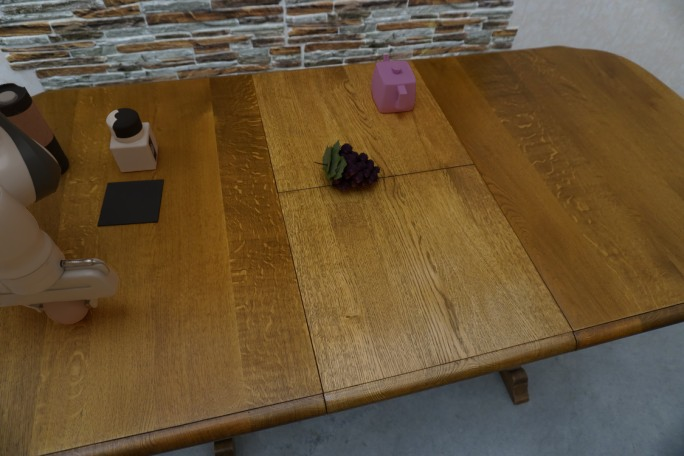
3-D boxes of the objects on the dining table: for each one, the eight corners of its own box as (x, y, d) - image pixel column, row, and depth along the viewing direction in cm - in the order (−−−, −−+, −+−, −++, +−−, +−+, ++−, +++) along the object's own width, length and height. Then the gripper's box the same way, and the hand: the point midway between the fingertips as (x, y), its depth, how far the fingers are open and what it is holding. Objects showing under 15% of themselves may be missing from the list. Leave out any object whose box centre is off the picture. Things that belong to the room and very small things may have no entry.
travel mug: (35, 184, 101) (-18, 111, 85) (33, 161, 105) (-18, 87, 89) (72, 174, 103) (27, 101, 87) (69, 152, 107) (25, 78, 91)
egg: (54, 334, 81) (28, 311, 73) (60, 301, 85) (36, 275, 77) (94, 328, 82) (72, 304, 74) (98, 295, 86) (78, 270, 78)
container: (158, 146, 110) (141, 102, 99) (156, 170, 105) (138, 125, 95) (124, 149, 109) (104, 104, 98) (121, 173, 104) (99, 128, 94)
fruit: (372, 202, 106) (309, 194, 102) (369, 164, 111) (309, 155, 107) (389, 178, 97) (321, 168, 93) (385, 138, 102) (320, 127, 98)
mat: (97, 226, 95) (97, 225, 95) (108, 183, 102) (107, 182, 102) (157, 222, 96) (157, 221, 96) (163, 180, 103) (163, 179, 103)
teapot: (365, 80, 129) (368, 46, 121) (401, 77, 130) (406, 44, 122) (380, 122, 118) (384, 88, 110) (419, 118, 120) (426, 85, 112)
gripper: (105, 242, 73) (133, 285, 84) (-35, 252, 70) (13, 295, 81) (98, 276, 69) (128, 317, 80) (-50, 288, 67) (2, 328, 78)
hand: (69, 306), depth 81 cm, fingers closed on egg, 6 cm apart
